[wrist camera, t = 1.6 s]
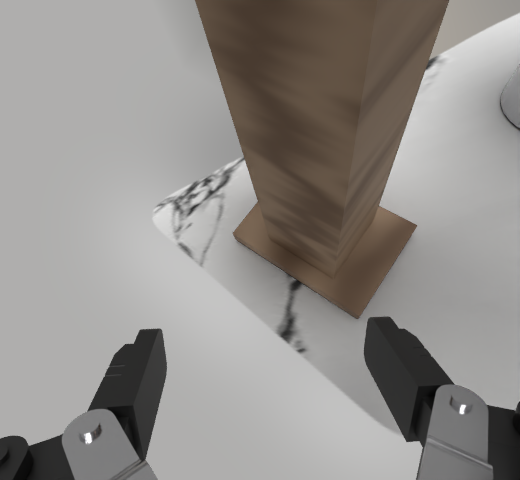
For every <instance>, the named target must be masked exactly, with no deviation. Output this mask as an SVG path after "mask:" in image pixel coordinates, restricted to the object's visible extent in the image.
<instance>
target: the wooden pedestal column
mask: <svg viewBox="0 0 520 480" xmlns="http://www.w3.org/2000/svg"><path fill="white" fill-rule="evenodd" d="M195 1H196V4H197V8H198V11H199V14H200V17H201V20H202V24H203V27H204V30H205V33H206V36H207V40H208V43H209V46H210V49H211V52H212V56H213V59H214V62H215V65H216V68H217V72H218V75H219V78H220V81H221V84H222V88H223V91H224V94H225V97H226V100H227V104H228V107H229V110H230V113H231V116H232V120H233V122H234V126H235V129H236V132H237V136H238V139H239V142H240V145H241V148H242V152H243V155H244V158H245V161H246V164H247V168H248V171H249V174H250V177H251V180H252V184H253V187H254V190H255V193H256V196H257V200H258V202H257V204H256V205H255V206H254V207H253V209H252V210H251V211H250V212H249V214H248V215H247V216H246V217H245V219H244V220H243V221H242V222H241V224H240V225H239V226H238V227H237V229H236V230H235V231H234V232H233V235H234V237H235V239H236V240H237V241H239V242H240V243H242V244H244V245H245V246H247V247H248V248H250V249H251V250H253V251H254V252H256V253H257V254H259V255H260V256H262V257H263V258H265V259H266V260H268V261H269V262H271V263H273V264H274V265H276V266H277V267H279V268H280V269H282V270H283V271H285V272H286V273H288V274H289V275H291V276H292V277H294V278H295V279H297V280H298V281H300V282H302V283H303V284H305V285H306V286H308V287H309V288H311V289H312V290H314V291H315V292H317V293H318V294H320V295H321V296H323V297H324V298H326V299H328V300H329V301H331V302H332V303H334V304H335V305H337V306H338V307H340V308H341V309H343V310H344V311H346V312H347V313H349V314H350V315H352V316H353V317H355V318H357V319H358V318H359V317H360V315H361V314H362V312H363V310H364V309H365V307H366V306H367V304H368V303H369V301H370V299H371V298H372V296H373V295H374V293H375V292H376V290H377V288H378V287H379V285H380V284H381V282H382V281H383V279H384V277H385V276H386V274H387V273H388V271H389V270H390V268H391V266H392V265H393V263H394V262H395V260H396V259H397V257H398V255H399V254H400V252H401V251H402V249H403V248H404V246H405V244H406V243H407V241H408V240H409V238H410V237H411V235H412V233H413V232H414V230H415V229H416V227H417V225H415V224H413V223H411V222H410V221H408V220H406V219H404V218H402V217H400V216H398V215H396V214H394V213H392V212H390V211H388V210H386V209H384V208H382V207H380V206H379V203H380V200H381V197H382V194H383V192H384V189H385V186H386V183H387V180H388V177H389V174H390V171H391V168H392V165H393V162H394V160H395V157H396V154H397V151H398V148H399V145H400V142H401V139H402V136H403V133H404V130H405V128H406V125H407V122H408V119H409V116H410V113H411V110H412V107H413V104H414V101H415V98H416V96H417V93H418V90H419V87H420V84H421V81H422V78H423V75H424V72H425V69H426V67H427V64H428V61H429V58H430V55H431V52H432V49H433V46H434V43H435V40H436V37H437V35H438V32H439V28H440V26H441V23H442V20H443V17H444V14H445V11H446V8H447V5H448V3H449V0H195Z"/></svg>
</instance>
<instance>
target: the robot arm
mask: <svg viewBox="0 0 520 480" xmlns="http://www.w3.org/2000/svg"><path fill="white" fill-rule="evenodd" d="M501 107H502V109H503V112H504V114H505V115H506V117H507V118H508V119H509V120H510V121H511V122H512V123H513V124H514V125H515V126H517V127H518V128H520V65H519V66H518V68H517V69H516V71H515V73H514V74H513V76H512V77H511V79H510V80H509V82H508V84H507V85H506V87H505V89H504V90H503V92H502V95H501ZM364 357H365V362H366V365H367V367H368V369H369V371H370V373H371V375H372V377H373V378H374V380H375V382H376V384H377V386H378V388H379V390H380V392H381V394H382V396H383V398H384V400H385V401H386V403H387V405H388V407H389V409H390V411H391V413H392V415H393V417H394V419H395V421H396V423H397V424H398V426H399V428H400V430H401V432H402V434H403V436H404V438H405V440H406V442H412V441H420V443H421V445H422V447H423V449H422V454H421V459H420V463H419V468H418V473H417V478H416V480H520V402H519V403H518V405H517V408H516V411H515V410H510V409H504V408H499V407H494V406H489V405H486V404H485V402H484V401H483V400H482V399H481V398H480V397H479V396H478V395H477V394H475V393H474V392H472V391H470V390H469V389H466V388H464V387H461V386H458V385H455V384H454V383H453V382H452V381H451V379H450V378H449V377H448V376H447V374H446V373H445V372H444V371H443V369H442V368H441V367H440V366H439V364H438V363H437V362H436V361H435V359H434V358H433V357H431V354H430V353H429V352H428V351H427V350H426V349H425V348H424V346H423V345H422V343H421V342H420V341H419V340H418V338H417V337H416V336H414V335H413V334H411V333H410V332H408V331H407V330H405V329H399V328H398V327H397V325H396V324H395V323H394V321H393V320H392V319H391V318H390V317H370V318H369V319H368V322H367V329H366V337H365V345H364ZM166 371H167V362H166V354H165V347H164V340H163V334H162V330H161V329H143V330H140V331H139V333H138V335H137V338H136V340H135V342H134V344H125V345H124V346H123V347H122V348H121V349H120V350H119V351H118V352H117V353H116V354H115V355H114V357H113V359H112V361H111V363H110V367H109V368H108V369H107V372H106V374H105V377H104V378H103V380H102V382H101V384H100V386H99V388H98V391H97V392H96V394H95V397H94V399H93V401H92V403H91V405H90V407H89V409H88V411H87V412H86V413H83V414H82V415H80V416H78V417H77V418H76V419H74V420H73V421H72V422H71V423H70V424H69V425H68V426H67V428H66V429H65V431H64V433H63V434H62V435H60V436H57V437H54V438H51V439H49V440H46V441H43V442H40V443H37V444H34V445H31V446H28V443H27V441H26V440H25V439H24V438H23V437H20V436H8V437H4V438H1V439H0V480H157V478H156V476H155V474H154V473H153V471H152V469H151V467H150V466H149V464H148V463H147V461H146V460H145V459H146V455H147V451H148V447H149V442H150V439H151V435H152V431H153V427H154V423H155V418H156V415H157V411H158V407H159V403H160V399H161V395H162V391H163V387H164V383H165V378H166Z"/></svg>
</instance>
